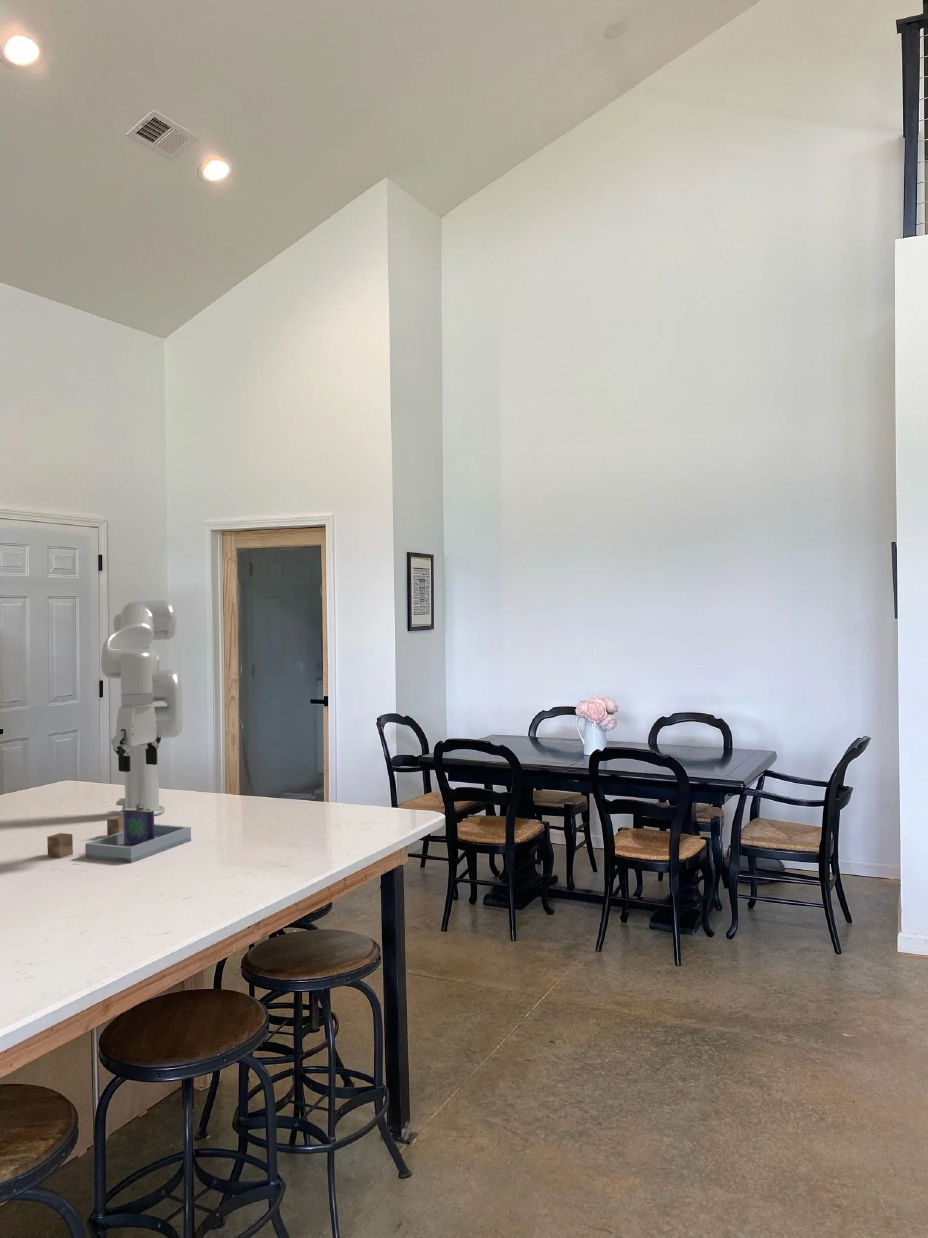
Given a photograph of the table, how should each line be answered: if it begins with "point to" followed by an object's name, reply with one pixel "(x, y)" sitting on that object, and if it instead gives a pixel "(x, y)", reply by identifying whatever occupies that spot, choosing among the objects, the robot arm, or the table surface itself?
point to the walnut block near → (60, 845)
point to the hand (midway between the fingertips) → (138, 767)
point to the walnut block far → (115, 825)
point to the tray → (118, 851)
